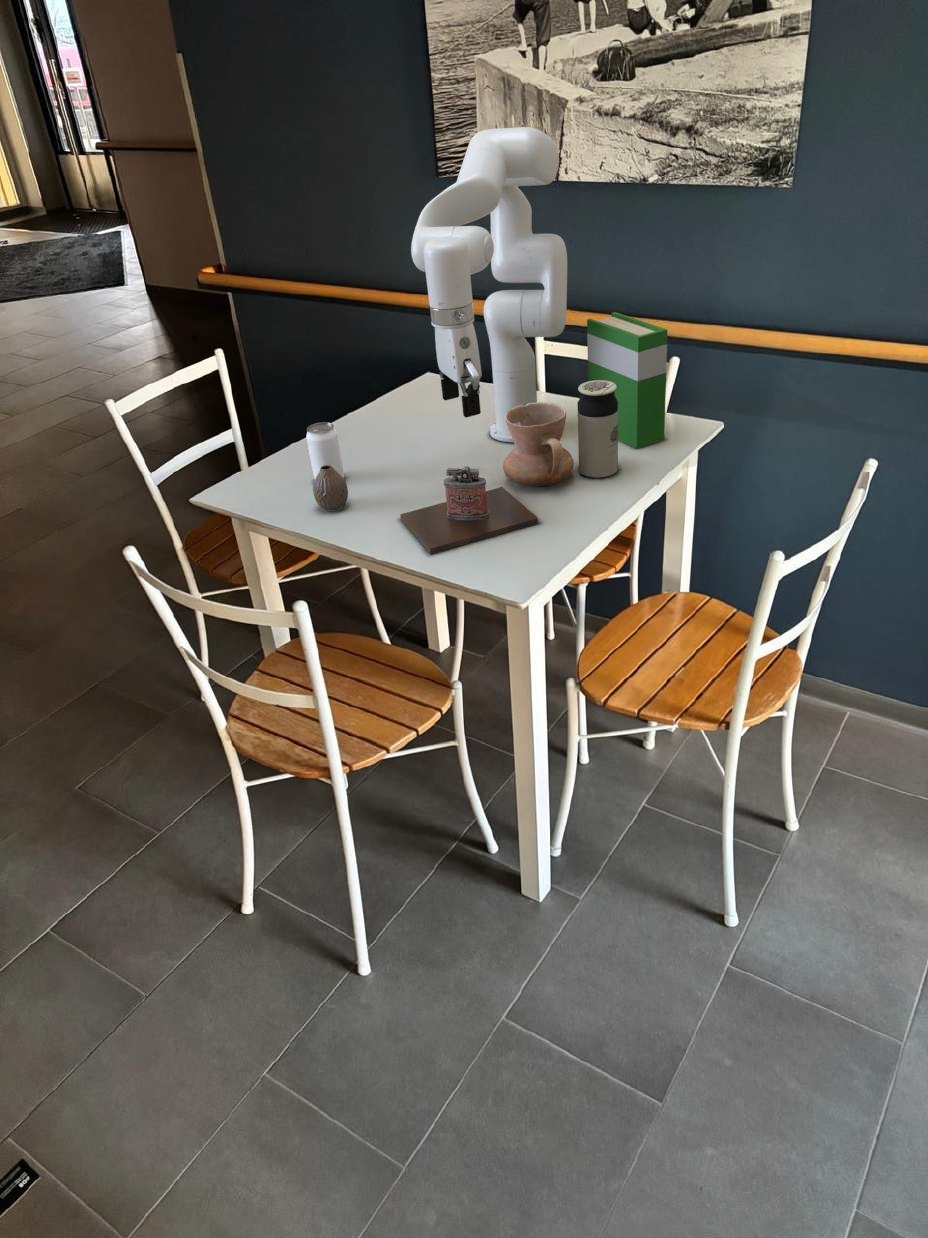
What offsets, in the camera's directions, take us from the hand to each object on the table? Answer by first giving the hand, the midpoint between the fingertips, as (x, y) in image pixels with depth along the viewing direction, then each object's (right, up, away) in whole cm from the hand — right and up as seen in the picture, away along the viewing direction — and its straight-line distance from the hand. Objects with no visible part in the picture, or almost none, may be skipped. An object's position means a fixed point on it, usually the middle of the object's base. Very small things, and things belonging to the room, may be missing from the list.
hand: (461, 406), depth 173 cm
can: (-28, -9, +30) cm, 42 cm away
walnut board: (+1, -20, +8) cm, 22 cm away
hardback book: (+37, +2, +37) cm, 52 cm away
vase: (-26, -16, +18) cm, 36 cm away
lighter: (+1, -20, +7) cm, 21 cm away
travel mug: (+28, -9, +22) cm, 37 cm away
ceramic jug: (+16, -11, +21) cm, 28 cm away
